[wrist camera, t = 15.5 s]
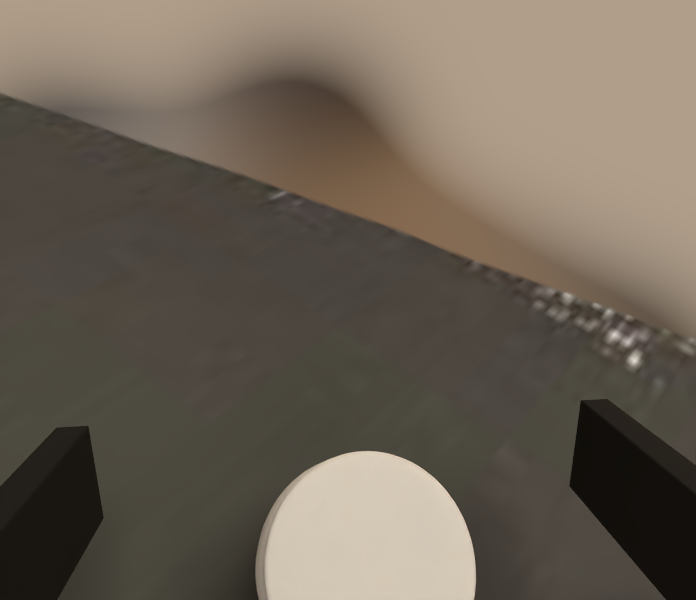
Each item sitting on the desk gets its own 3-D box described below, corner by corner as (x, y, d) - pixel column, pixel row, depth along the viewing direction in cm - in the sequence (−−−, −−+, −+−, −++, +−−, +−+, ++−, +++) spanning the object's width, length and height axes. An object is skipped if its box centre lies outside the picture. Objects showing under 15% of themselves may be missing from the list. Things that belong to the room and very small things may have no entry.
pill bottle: (292, 477, 17) (277, 408, 10) (420, 504, 17) (498, 452, 10) (256, 633, 15) (202, 687, 8) (404, 666, 15) (491, 752, 8)
